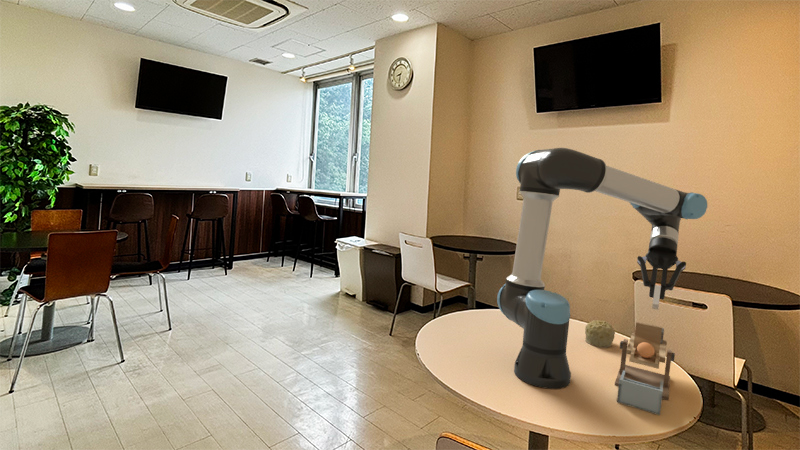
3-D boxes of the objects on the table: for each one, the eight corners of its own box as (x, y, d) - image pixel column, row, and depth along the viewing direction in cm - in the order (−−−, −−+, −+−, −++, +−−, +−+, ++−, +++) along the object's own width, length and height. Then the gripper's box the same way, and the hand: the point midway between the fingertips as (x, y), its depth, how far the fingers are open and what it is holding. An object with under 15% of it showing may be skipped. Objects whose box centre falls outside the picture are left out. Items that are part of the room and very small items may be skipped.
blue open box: (621, 387, 109) (623, 366, 108) (661, 399, 104) (663, 377, 103) (616, 401, 102) (619, 379, 101) (659, 415, 96) (662, 391, 96)
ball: (649, 361, 104) (651, 347, 103) (633, 356, 107) (634, 341, 106) (656, 358, 106) (658, 344, 106) (640, 352, 109) (641, 338, 109)
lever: (631, 336, 125) (635, 307, 124) (666, 344, 120) (669, 314, 119) (624, 360, 107) (627, 326, 106) (664, 370, 102) (668, 335, 101)
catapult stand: (620, 365, 123) (623, 332, 122) (670, 379, 116) (675, 344, 114) (613, 384, 111) (617, 348, 109) (670, 401, 103) (674, 362, 102)
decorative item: (605, 359, 137) (626, 338, 135) (582, 339, 137) (603, 318, 136) (597, 348, 146) (617, 329, 144) (575, 330, 147) (595, 310, 145)
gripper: (687, 253, 127) (681, 318, 115) (639, 248, 134) (629, 308, 122) (689, 238, 122) (684, 304, 110) (639, 234, 129) (629, 295, 117)
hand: (655, 306), depth 116 cm, fingers closed
